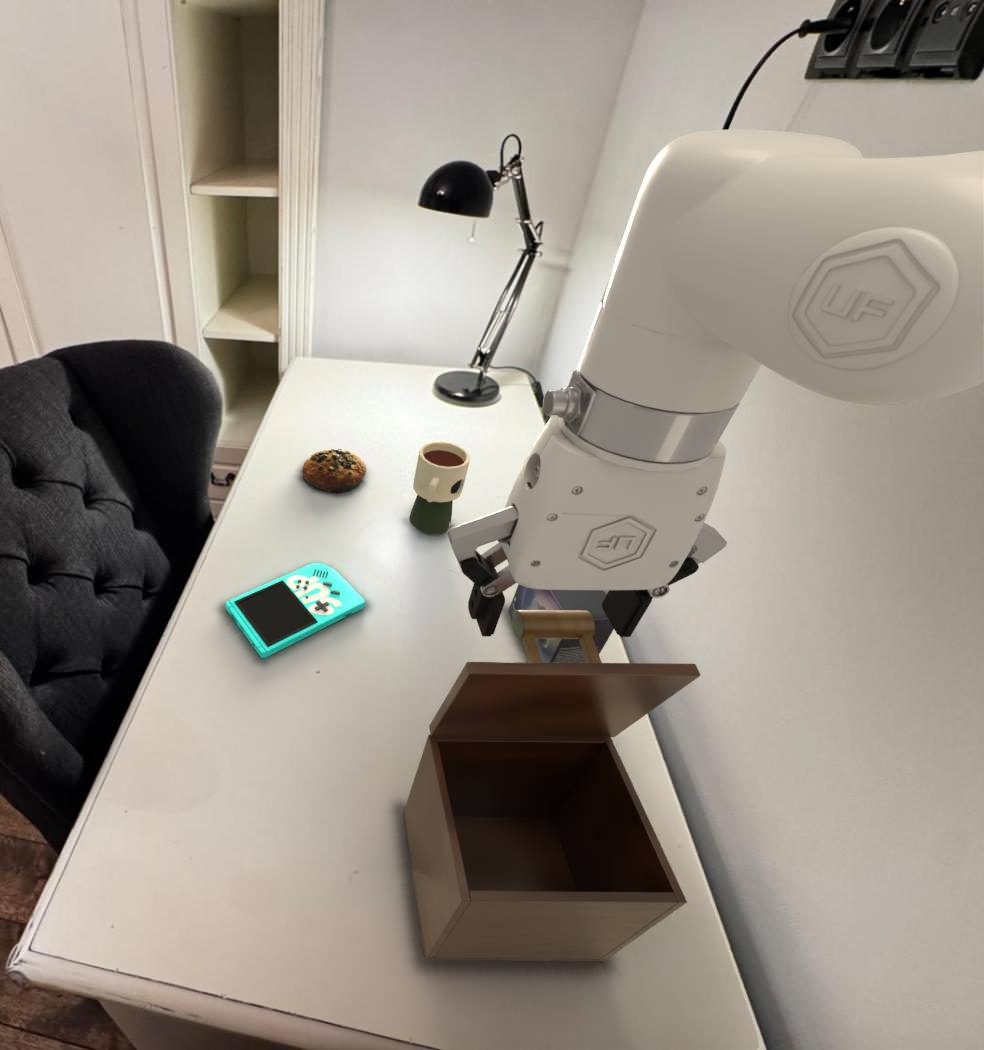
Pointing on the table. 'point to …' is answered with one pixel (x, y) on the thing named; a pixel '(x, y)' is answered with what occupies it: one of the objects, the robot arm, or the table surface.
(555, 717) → the lid
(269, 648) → the handheld game console
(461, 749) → the brown wooden box
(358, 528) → the table surface
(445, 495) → the character mug
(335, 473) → the bread roll
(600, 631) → the small box
